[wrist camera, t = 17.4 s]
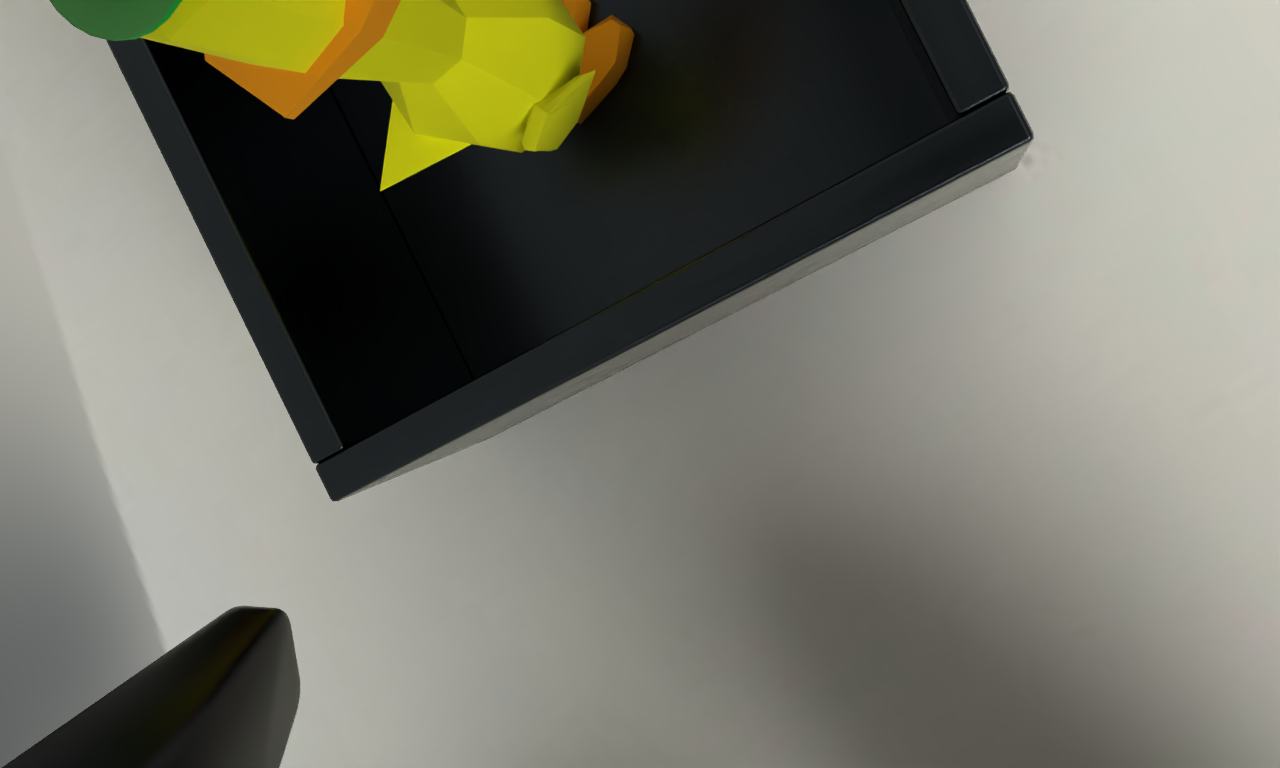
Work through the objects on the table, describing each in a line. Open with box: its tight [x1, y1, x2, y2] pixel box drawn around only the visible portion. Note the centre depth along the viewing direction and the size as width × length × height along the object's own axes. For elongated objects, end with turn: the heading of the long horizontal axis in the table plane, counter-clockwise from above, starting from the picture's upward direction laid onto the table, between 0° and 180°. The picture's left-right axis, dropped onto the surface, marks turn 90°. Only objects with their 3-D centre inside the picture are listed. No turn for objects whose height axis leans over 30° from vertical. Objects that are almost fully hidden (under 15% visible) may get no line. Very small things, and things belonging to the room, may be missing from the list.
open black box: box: [106, 0, 1034, 501], centre depth 17 cm, size 12×12×6 cm
